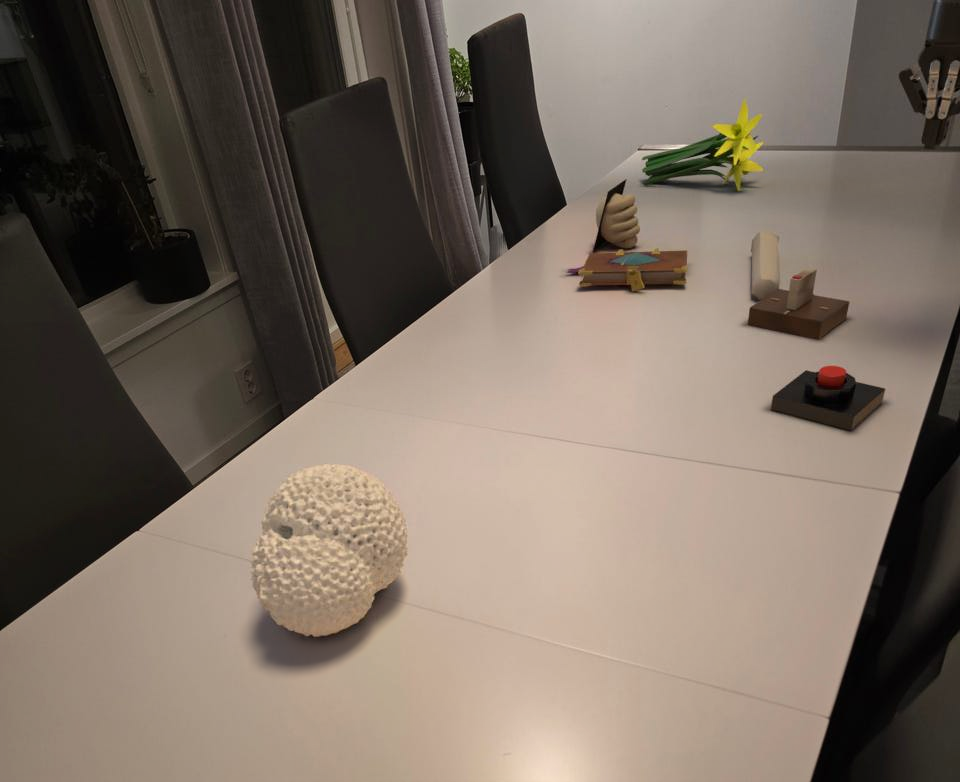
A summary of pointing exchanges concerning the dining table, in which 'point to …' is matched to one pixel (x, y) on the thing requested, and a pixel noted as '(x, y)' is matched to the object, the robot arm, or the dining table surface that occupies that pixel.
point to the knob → (801, 288)
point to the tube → (765, 264)
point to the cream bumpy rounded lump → (327, 548)
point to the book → (634, 268)
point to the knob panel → (798, 314)
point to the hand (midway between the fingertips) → (931, 147)
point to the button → (831, 376)
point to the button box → (828, 400)
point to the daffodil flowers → (735, 145)
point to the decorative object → (617, 219)
